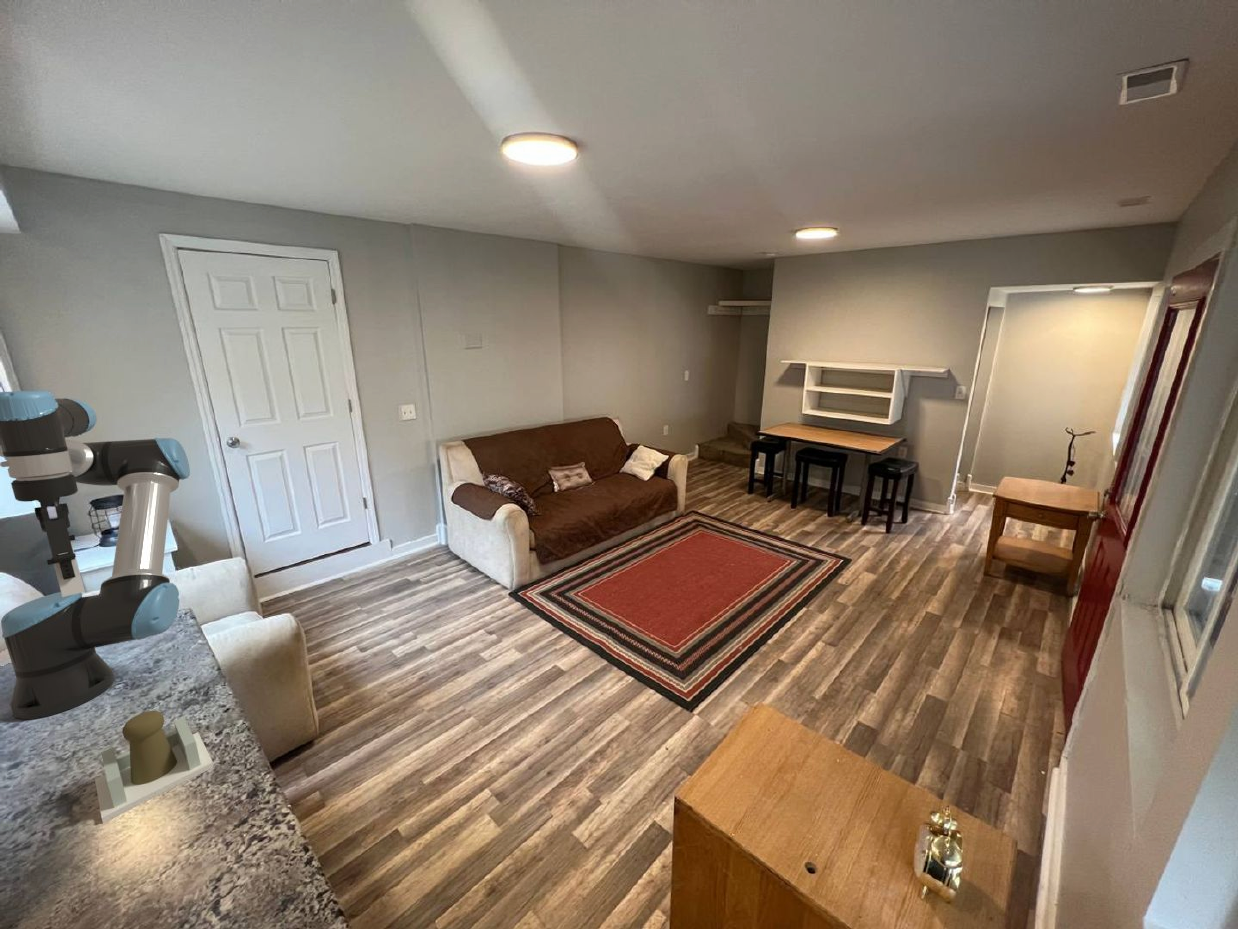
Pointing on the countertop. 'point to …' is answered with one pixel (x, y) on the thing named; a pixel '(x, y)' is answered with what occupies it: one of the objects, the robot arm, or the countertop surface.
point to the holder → (124, 795)
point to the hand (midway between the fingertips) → (71, 584)
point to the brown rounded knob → (148, 748)
